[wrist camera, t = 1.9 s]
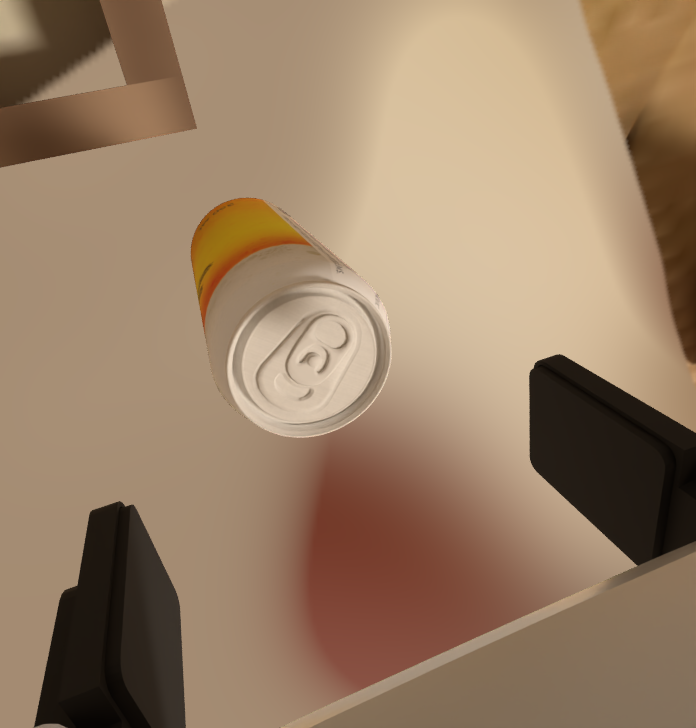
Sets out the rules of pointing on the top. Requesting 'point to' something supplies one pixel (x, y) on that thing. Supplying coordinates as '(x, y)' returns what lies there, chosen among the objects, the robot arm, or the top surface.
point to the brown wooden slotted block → (108, 95)
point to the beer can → (286, 322)
